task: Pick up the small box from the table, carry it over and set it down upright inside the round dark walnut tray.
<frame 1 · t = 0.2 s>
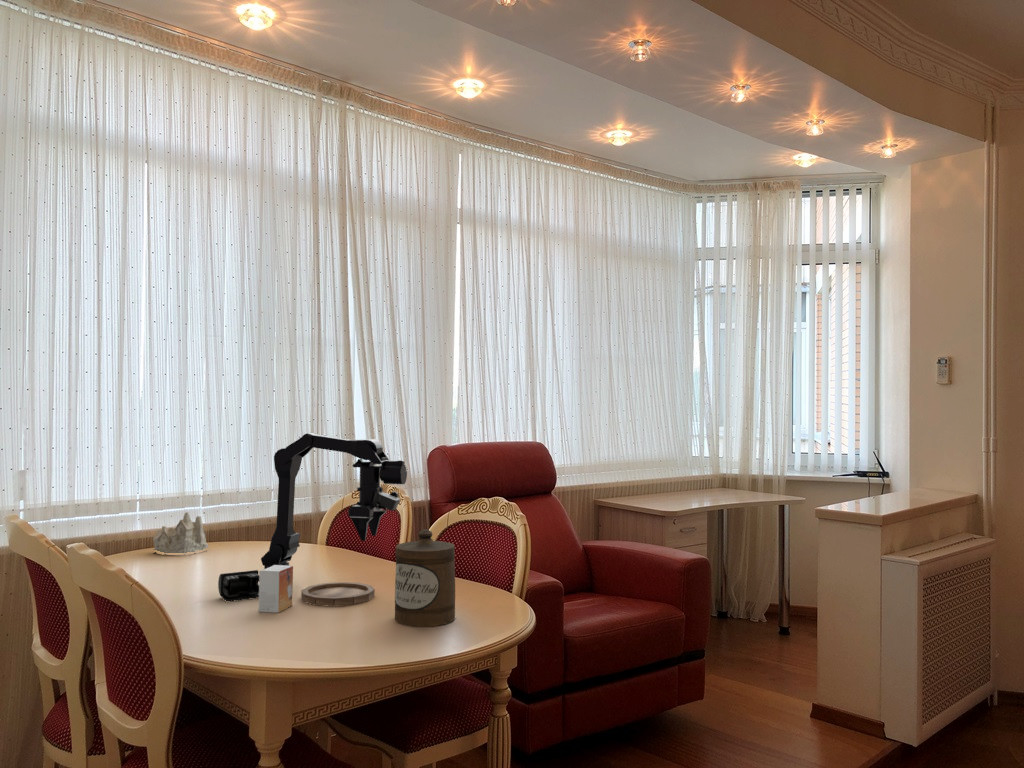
hand: (368, 538, 232), 15 cm above the table, tool pointing down, fingers open, 9 cm apart
wooden container: (424, 620, 201), on the table
end cap: (240, 598, 221), on the table
small box: (275, 609, 209), on the table
miniature castle: (181, 552, 287), on the table
round tray: (338, 597, 222), on the table
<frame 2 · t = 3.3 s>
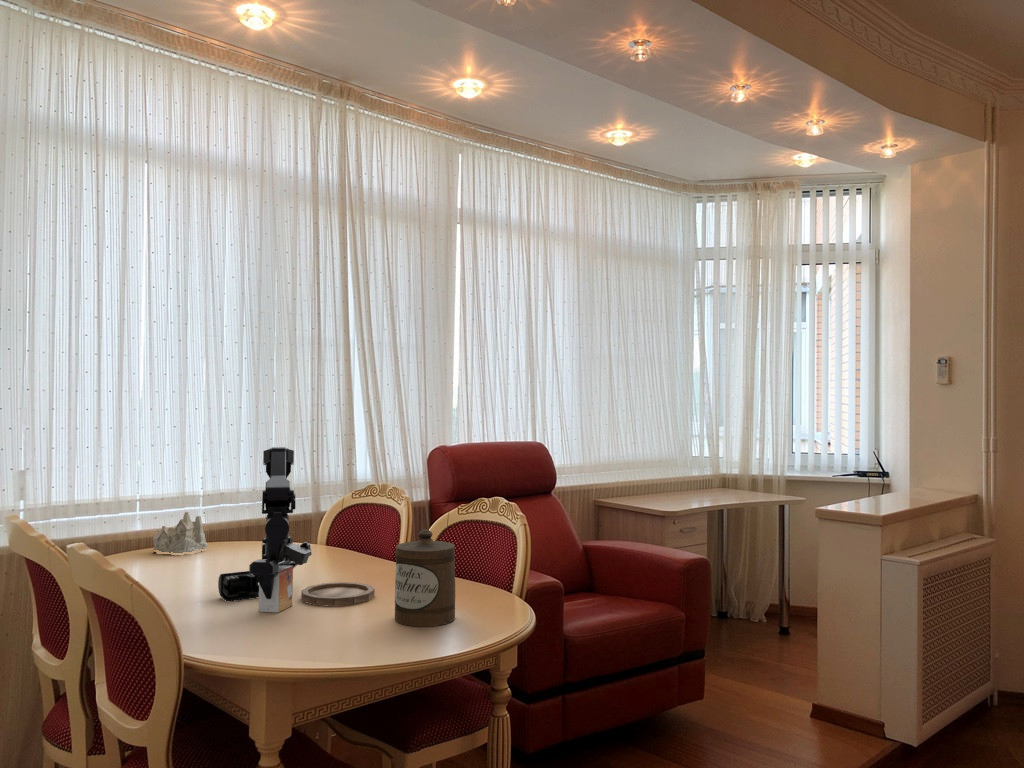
hand: (276, 595, 209), 4 cm above the table, tool pointing down, fingers closed on small box, 8 cm apart
small box: (275, 609, 209), on the table, touching gripper
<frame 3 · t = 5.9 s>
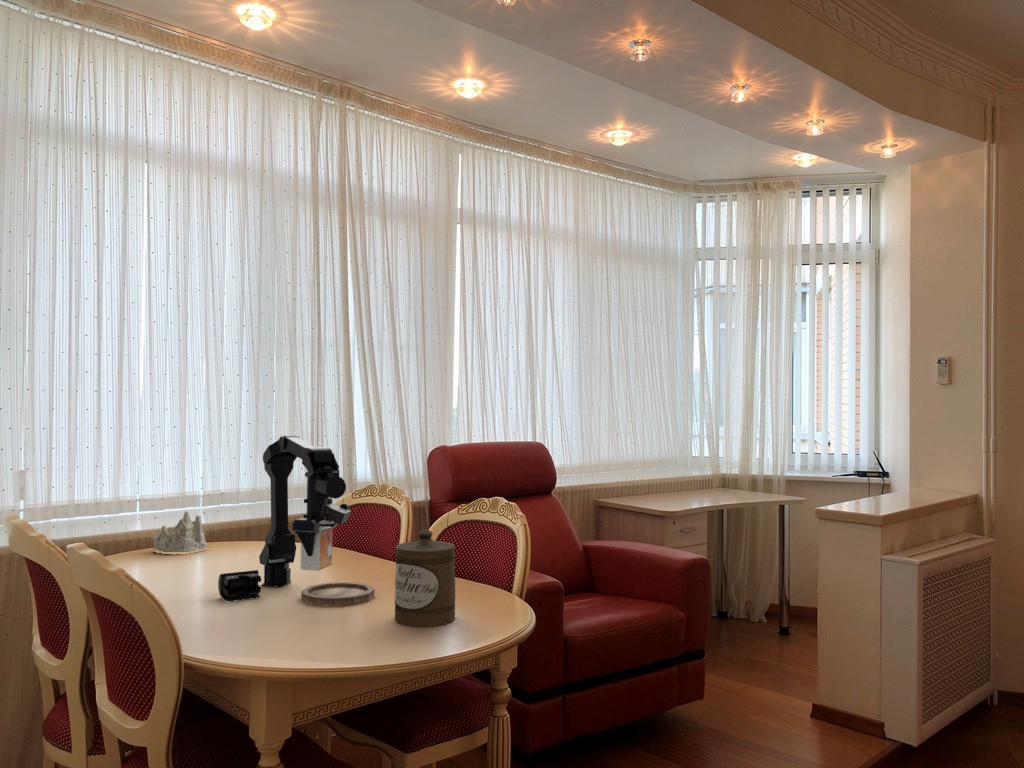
hand: (316, 553, 218), 13 cm above the table, tool pointing down, fingers closed on small box, 8 cm apart
small box: (316, 568, 218), point 9 cm above the table, touching gripper
when the fingers open (5 cm above the table, at t = 8.8 s): small box stays where it is, resting on round tray.
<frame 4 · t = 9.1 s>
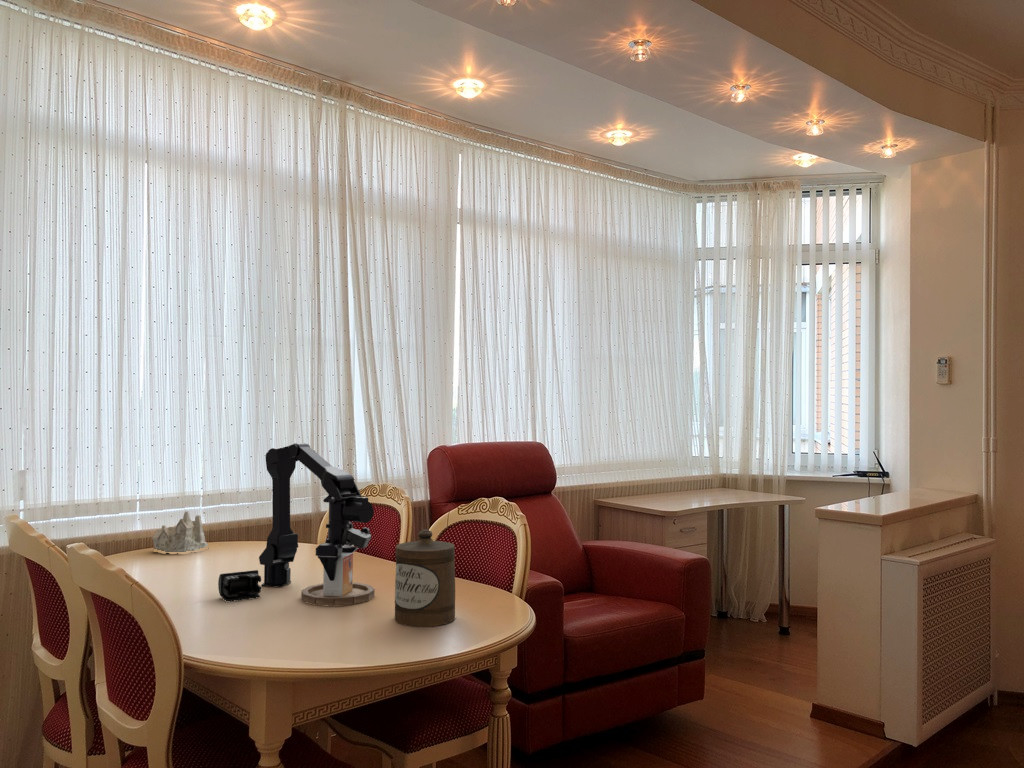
hand: (338, 576, 222), 5 cm above the table, tool pointing down, fingers open, 9 cm apart
small box: (338, 594, 222), point 1 cm above the table, touching round tray
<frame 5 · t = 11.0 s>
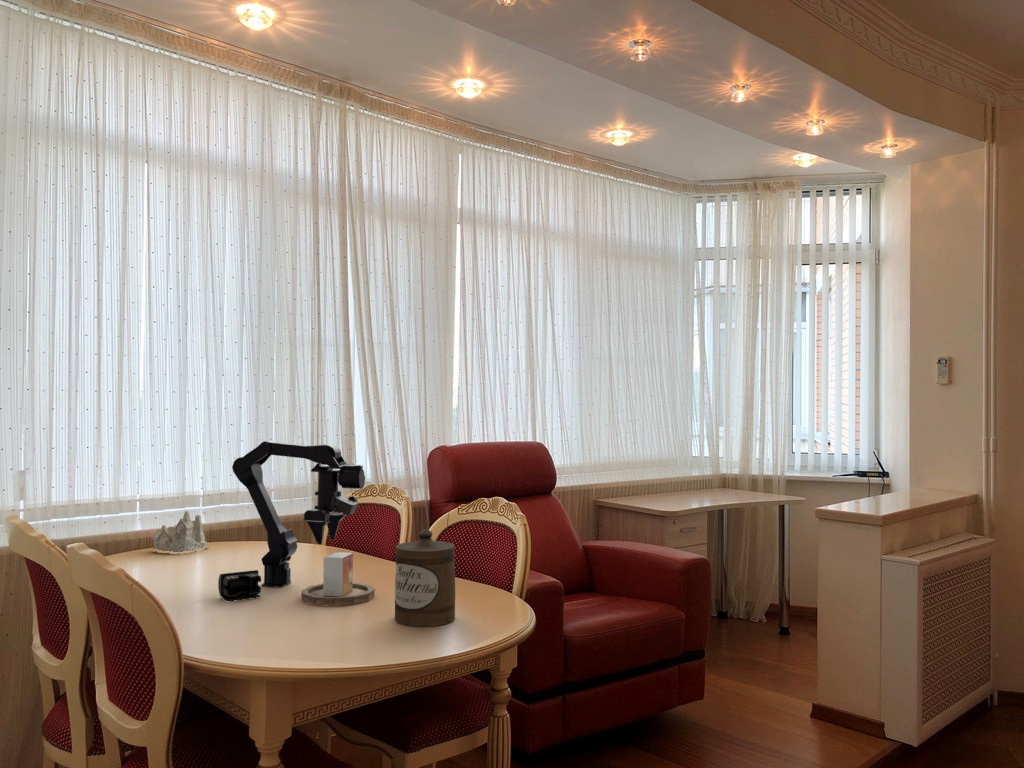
hand: (326, 541, 235), 13 cm above the table, tool pointing down, fingers open, 9 cm apart
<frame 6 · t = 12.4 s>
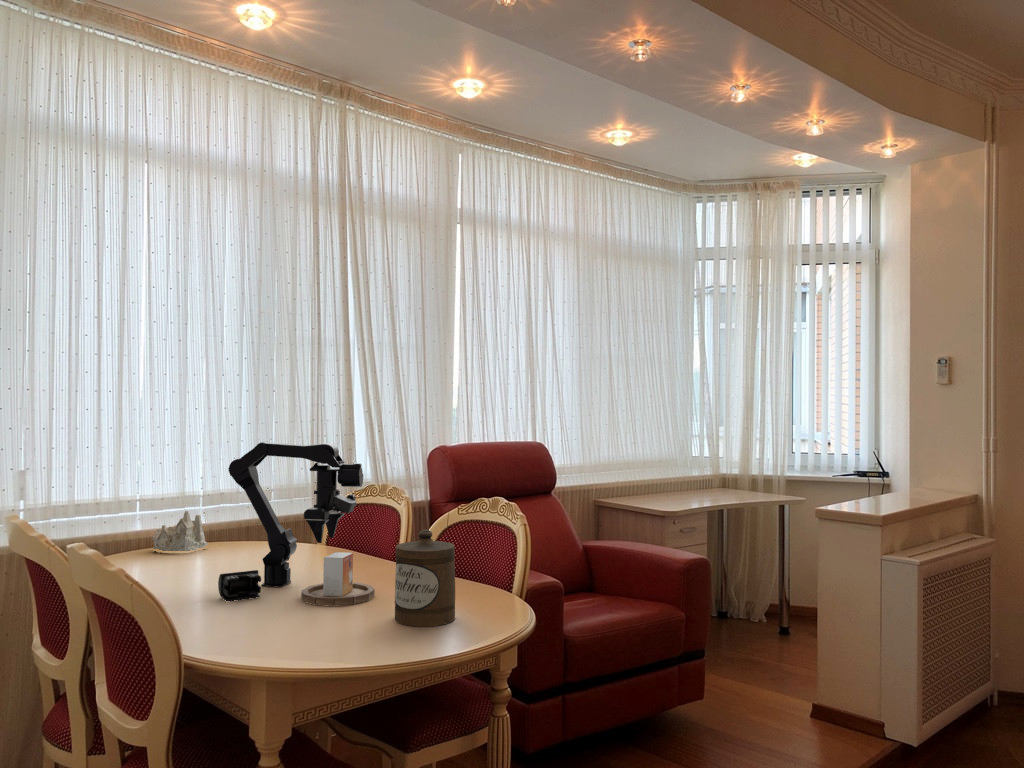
hand: (325, 540, 237), 13 cm above the table, tool pointing down, fingers open, 9 cm apart
at the end: small box inside the target area on the round tray (0.1 cm from its centre), point 0.8 cm above the round tray's base; small box tilted 0°; the gripper is holding nothing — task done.
